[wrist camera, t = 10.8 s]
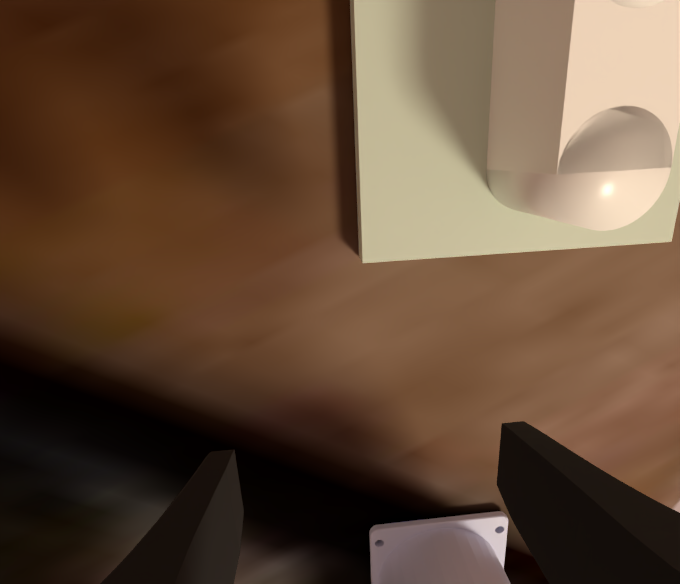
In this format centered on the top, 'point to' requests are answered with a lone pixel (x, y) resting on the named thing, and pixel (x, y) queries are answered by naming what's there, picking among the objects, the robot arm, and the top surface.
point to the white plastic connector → (583, 107)
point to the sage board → (447, 142)
